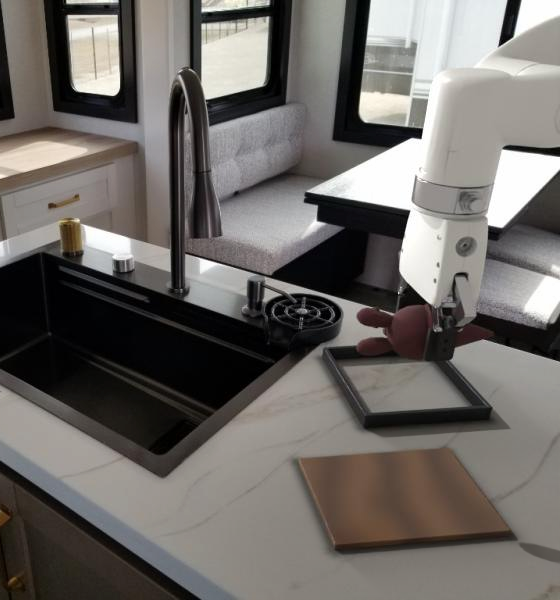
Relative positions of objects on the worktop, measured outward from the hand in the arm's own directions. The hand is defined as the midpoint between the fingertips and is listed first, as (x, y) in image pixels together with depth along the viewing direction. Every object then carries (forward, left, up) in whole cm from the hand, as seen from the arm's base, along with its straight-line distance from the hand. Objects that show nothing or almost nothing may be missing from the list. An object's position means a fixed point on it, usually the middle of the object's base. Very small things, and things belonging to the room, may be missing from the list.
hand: (421, 340), depth 74 cm
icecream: (0, 0, -2) cm, 3 cm away
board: (+3, +6, -18) cm, 19 cm away
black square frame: (-7, -16, -18) cm, 25 cm away
